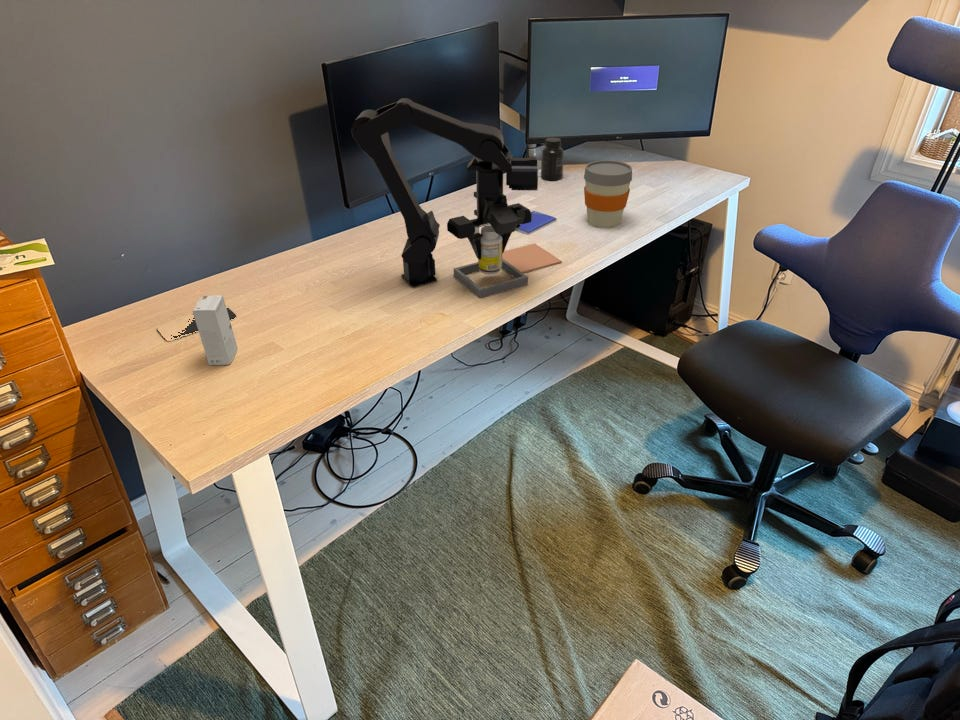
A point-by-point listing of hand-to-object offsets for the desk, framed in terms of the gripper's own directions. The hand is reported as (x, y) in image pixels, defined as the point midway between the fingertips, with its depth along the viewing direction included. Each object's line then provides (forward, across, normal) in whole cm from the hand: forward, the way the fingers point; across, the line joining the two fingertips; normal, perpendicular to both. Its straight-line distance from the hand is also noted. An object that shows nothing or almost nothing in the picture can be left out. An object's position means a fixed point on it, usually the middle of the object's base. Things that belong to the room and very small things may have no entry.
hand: (490, 255), depth 154 cm
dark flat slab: (+7, -63, +15) cm, 65 cm away
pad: (+6, +14, +5) cm, 16 cm away
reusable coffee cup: (+6, +44, +14) cm, 47 cm away
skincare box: (+6, -61, -1) cm, 61 cm away
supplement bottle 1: (+4, 0, 0) cm, 4 cm away
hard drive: (+7, +26, +23) cm, 36 cm away
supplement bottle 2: (+6, +52, +51) cm, 73 cm away
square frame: (+6, 0, 0) cm, 6 cm away
